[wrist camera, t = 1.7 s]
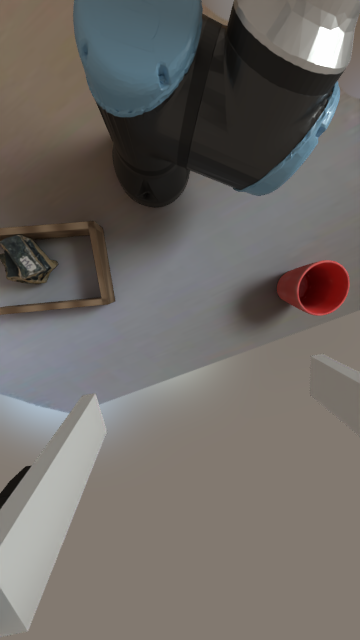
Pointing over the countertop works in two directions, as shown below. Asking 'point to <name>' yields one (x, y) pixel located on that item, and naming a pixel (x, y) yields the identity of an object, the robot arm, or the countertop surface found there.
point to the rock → (25, 260)
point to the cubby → (68, 231)
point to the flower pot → (315, 287)
